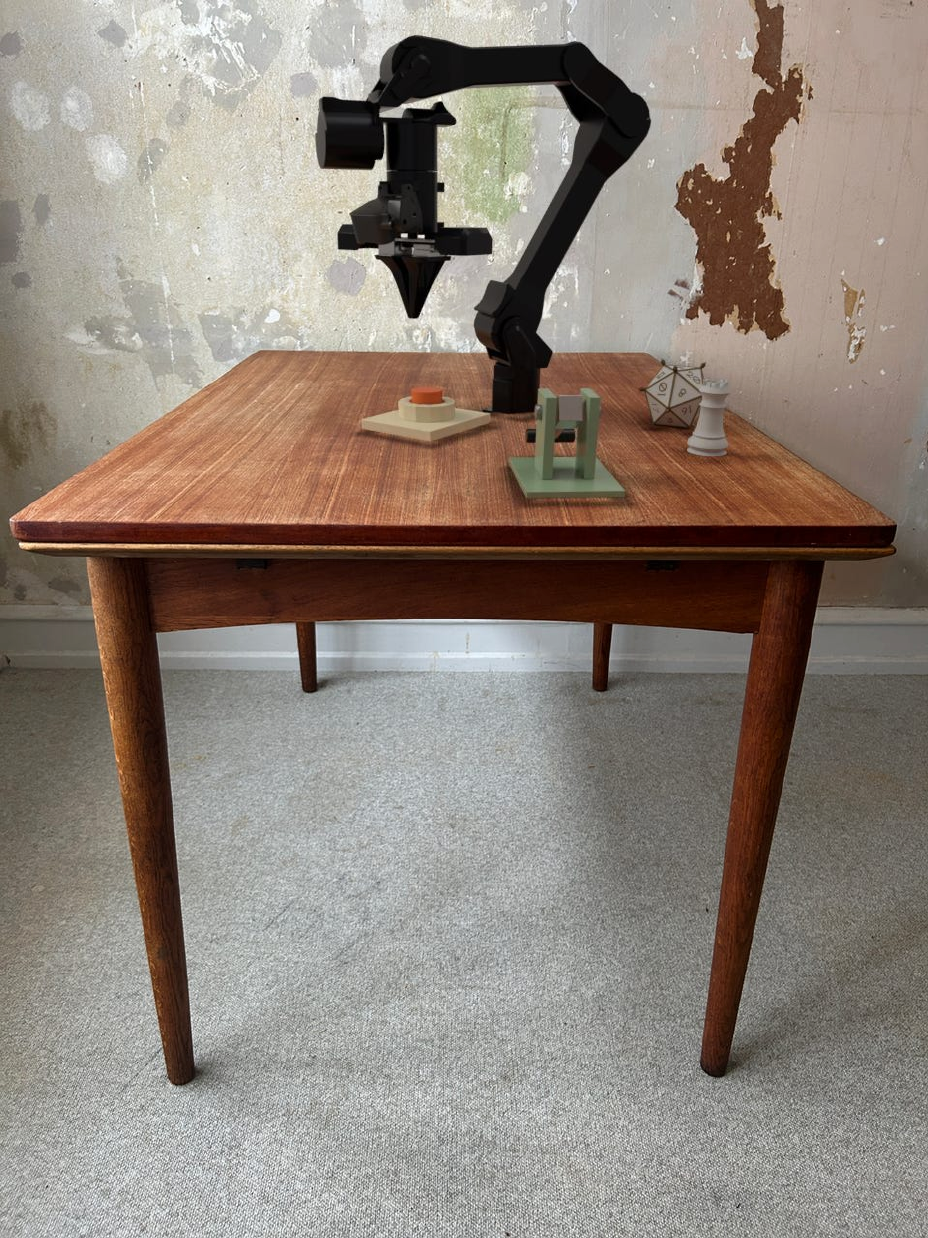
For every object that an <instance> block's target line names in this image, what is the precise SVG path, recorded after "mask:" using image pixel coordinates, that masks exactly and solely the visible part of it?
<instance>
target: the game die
mask: <svg viewBox="0 0 928 1238" xmlns="http://www.w3.org/2000/svg"><path fill="white" fill-rule="evenodd" d="M660 363H661V365H662V367H661V368H660V369H659V370H658V372H657V373H656V374H655V376H654V377H653V378H652V379H651V380H650V382H649V383H648V384H647V385H646V386H645V387H644V386H640V387H637V390H638V391H639V392H644V396H645V399H646V402H647V406H648V410H649V413H650V417H651V422H652V423H650V426H665V427H676V428H685V429H689V430H693V429H694V428H693V427H692V426H693V425H694V424H695V423H696V421H698V419H699V415H700V408H701V407H700V405H699V404H700V403H701V401H702V395H701V393H700V391H699V389H700V388H701V386H702V385H703V380H704V381H705V377H704V373H703V369H705V367H706V365H707V361H704V362H701V364H700V366H688V365H687V366H686V365H674V364H666V360H665V359H663V358H661V360H660Z"/></svg>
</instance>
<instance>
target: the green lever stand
mask: <svg viewBox="0 0 928 1238" xmlns="http://www.w3.org/2000/svg"><path fill="white" fill-rule="evenodd" d="M579 395H582V410H583V421H582V422H581V424H580V425H579V426H578V427H577V428H576V429H577V430H576V445H575V456H555V455H554V454H555V443H554V440H555V422H556V405H557V397H558V396H556V395H555V393H553V392H552V391H551V390H550V388H547V387H544V388H543V387H542V388H541V387H540V388H539V389H538V405H535V412H534V420H535V421H536V425H535V426H536V427H535V429H536V443H535V448H534V456H531V457H530V456H529V457H527V456H525V457H524V456H523V457H521V456H520V457H514V456H513V457H511V456H510V457H508V465H509V467H510V468H511V471H512V473H513V474H514V477H515V479H516V481H517V483H518V485H519V487H520V489H521V491H522V492H523V495H524V497H525V498H526V499H586V498H588V499H591V498H592V499H595V498H626V489H625V488H624V487H622V485H621V484H620V483H619V481H618V480H617V479H616V478H615V476H613V475H612V473H611V472H610V471H609V469H607V467H605V465H604V464H603V463H602V462H601V460H600V459H599V458H598V457H597V451H598V450H597V449H598V438H599V437H598V436H599V426H600V425H599V424H600V419H601V416H602V406H601V398H602V397H601V396H600V395H598V394H597V393H596V392H595V391H594V390H593V389H592V388H591V387H585V388H584V387H581V388H580V389H579Z"/></svg>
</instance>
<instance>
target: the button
mask: <svg viewBox="0 0 928 1238" xmlns="http://www.w3.org/2000/svg"><path fill="white" fill-rule="evenodd" d="M410 393H411V396H412V403H414V404H424V405H432V404H441V403H442V397H443V388H441V387H436V386H416V387H413V388H411V391H410Z"/></svg>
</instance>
